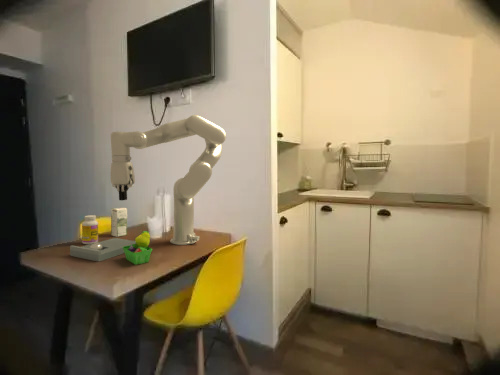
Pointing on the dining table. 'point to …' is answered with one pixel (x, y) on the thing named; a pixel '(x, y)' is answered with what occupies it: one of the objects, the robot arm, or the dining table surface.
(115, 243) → the board
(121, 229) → the syrup box
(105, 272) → the dining table surface
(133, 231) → the dining table surface
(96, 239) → the supplement bottle
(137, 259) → the fruit basket
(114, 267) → the dining table surface
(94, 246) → the ball
